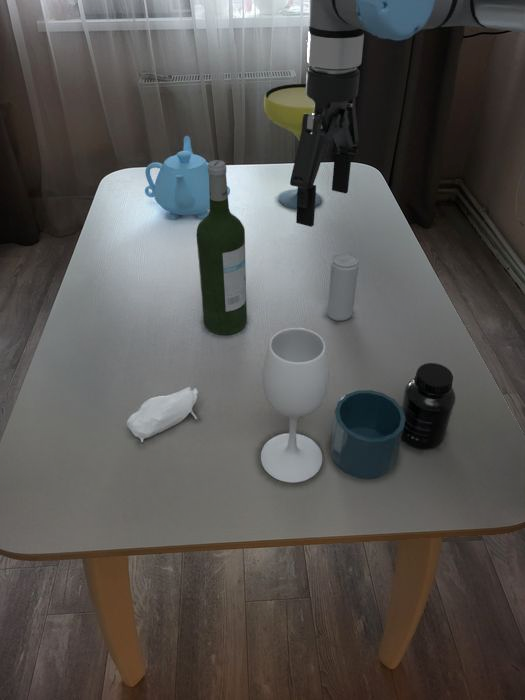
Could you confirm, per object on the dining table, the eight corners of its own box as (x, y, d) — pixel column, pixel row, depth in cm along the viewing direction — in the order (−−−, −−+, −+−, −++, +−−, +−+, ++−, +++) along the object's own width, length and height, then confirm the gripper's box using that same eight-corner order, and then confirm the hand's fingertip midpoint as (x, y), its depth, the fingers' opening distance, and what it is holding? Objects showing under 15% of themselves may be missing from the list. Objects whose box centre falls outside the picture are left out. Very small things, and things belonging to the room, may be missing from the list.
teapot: (183, 234, 127) (177, 175, 118) (138, 204, 138) (129, 148, 129) (238, 212, 135) (237, 155, 126) (191, 186, 146) (186, 132, 137)
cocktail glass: (282, 222, 131) (285, 112, 115) (252, 191, 144) (251, 89, 127) (349, 208, 137) (360, 101, 120) (314, 179, 149) (320, 79, 133)
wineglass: (329, 478, 76) (343, 365, 62) (266, 487, 75) (267, 373, 61) (314, 430, 82) (324, 318, 69) (256, 438, 81) (254, 325, 68)
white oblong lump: (178, 405, 88) (120, 423, 82) (188, 376, 84) (127, 392, 78) (194, 428, 86) (135, 448, 80) (205, 399, 81) (143, 418, 75)
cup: (408, 450, 80) (418, 412, 74) (371, 490, 74) (380, 453, 69) (355, 418, 84) (361, 380, 79) (317, 454, 79) (321, 416, 74)
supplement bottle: (407, 409, 86) (422, 350, 78) (450, 428, 83) (469, 369, 75) (388, 437, 81) (401, 378, 74) (432, 459, 78) (451, 399, 71)
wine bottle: (217, 305, 106) (207, 149, 87) (254, 316, 104) (252, 158, 84) (196, 328, 101) (179, 168, 81) (234, 340, 98) (227, 178, 79)
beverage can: (357, 316, 104) (365, 261, 96) (337, 325, 101) (343, 269, 94) (340, 304, 107) (346, 249, 99) (320, 312, 104) (325, 257, 97)
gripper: (344, 45, 88) (333, 174, 102) (266, 85, 71) (266, 233, 85) (389, 50, 85) (372, 183, 99) (320, 94, 68) (310, 245, 82)
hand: (323, 207), depth 92 cm, fingers open, 13 cm apart
